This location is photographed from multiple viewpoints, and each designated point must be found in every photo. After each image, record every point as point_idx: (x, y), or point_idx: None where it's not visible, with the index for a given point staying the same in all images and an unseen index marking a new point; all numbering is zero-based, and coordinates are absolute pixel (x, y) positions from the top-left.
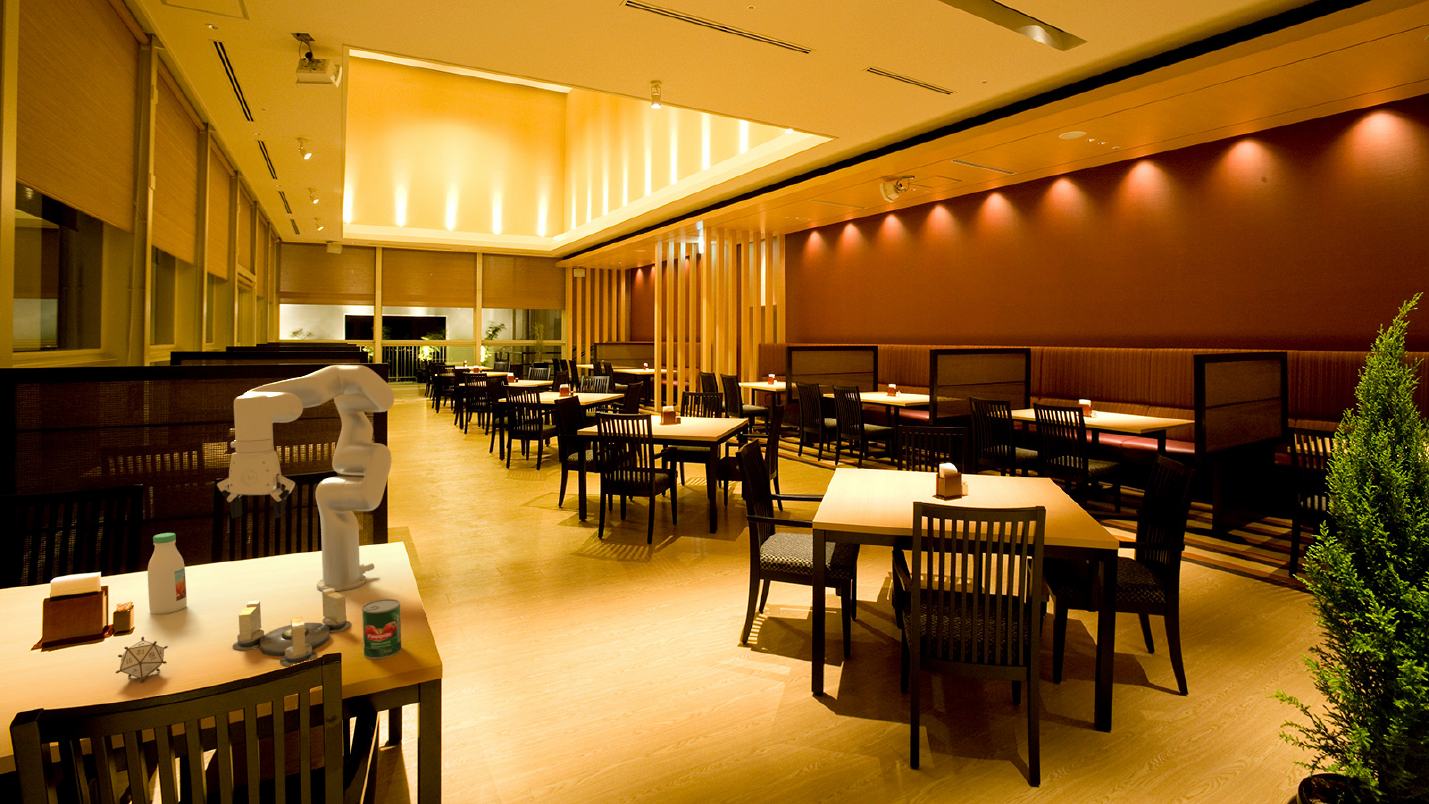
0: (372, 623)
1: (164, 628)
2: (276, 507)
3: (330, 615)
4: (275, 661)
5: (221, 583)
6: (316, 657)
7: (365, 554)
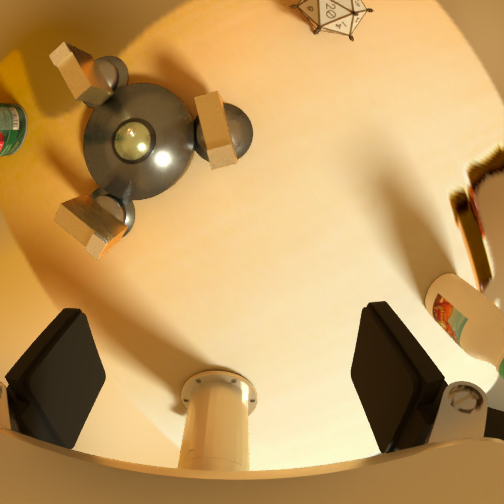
0: None
1: (417, 215)
2: (31, 351)
3: (101, 210)
4: (135, 68)
5: None
6: None
7: None
